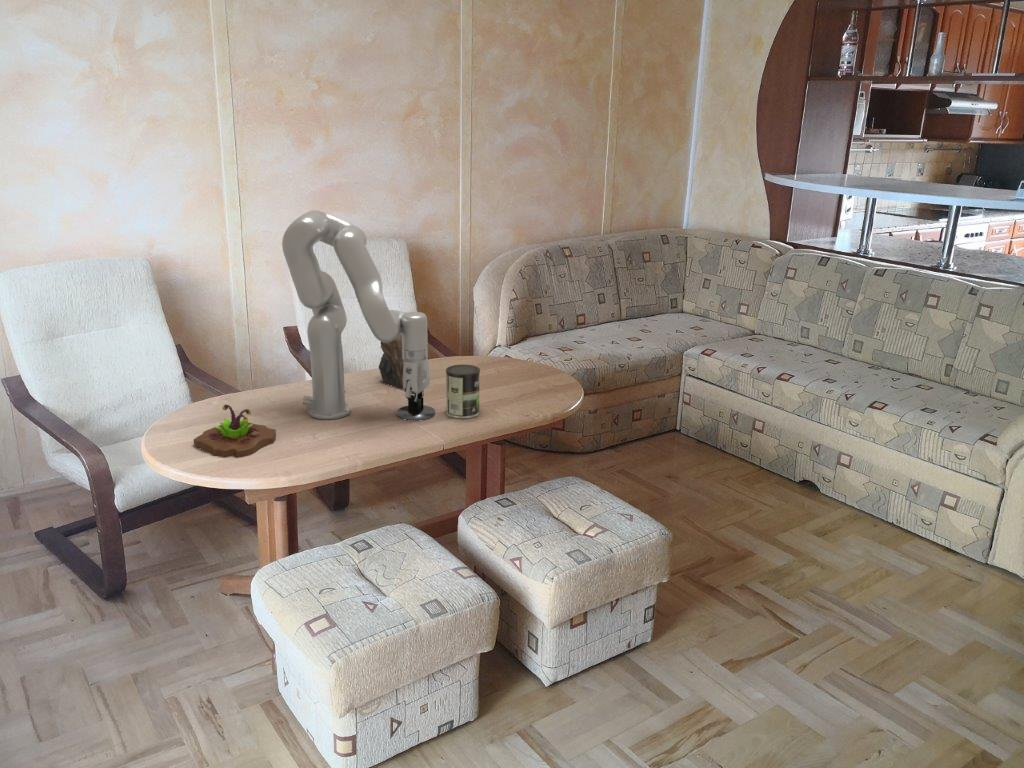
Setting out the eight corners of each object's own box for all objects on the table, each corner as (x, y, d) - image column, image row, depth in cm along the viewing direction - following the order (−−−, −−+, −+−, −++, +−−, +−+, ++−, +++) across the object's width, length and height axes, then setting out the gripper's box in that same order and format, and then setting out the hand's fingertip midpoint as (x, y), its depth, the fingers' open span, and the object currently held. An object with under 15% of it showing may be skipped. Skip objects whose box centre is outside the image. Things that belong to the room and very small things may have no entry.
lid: (390, 418, 255) (390, 402, 253) (406, 405, 265) (405, 390, 264) (426, 423, 252) (426, 407, 250) (440, 410, 262) (440, 395, 261)
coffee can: (480, 407, 265) (480, 364, 261) (478, 419, 256) (478, 374, 251) (447, 406, 265) (447, 363, 261) (444, 418, 256) (444, 374, 251)
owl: (377, 381, 287) (375, 324, 280) (405, 373, 296) (404, 318, 289) (402, 390, 279) (401, 331, 273) (430, 381, 288) (429, 324, 282)
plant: (233, 425, 248) (230, 389, 244) (287, 437, 240) (284, 400, 236) (182, 449, 231) (177, 410, 227) (238, 463, 223) (234, 423, 219)
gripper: (415, 362, 244) (416, 422, 250) (437, 347, 259) (437, 404, 265) (391, 359, 246) (393, 419, 252) (414, 345, 261) (415, 401, 267)
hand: (416, 410), depth 258 cm, fingers closed on lid, 3 cm apart
